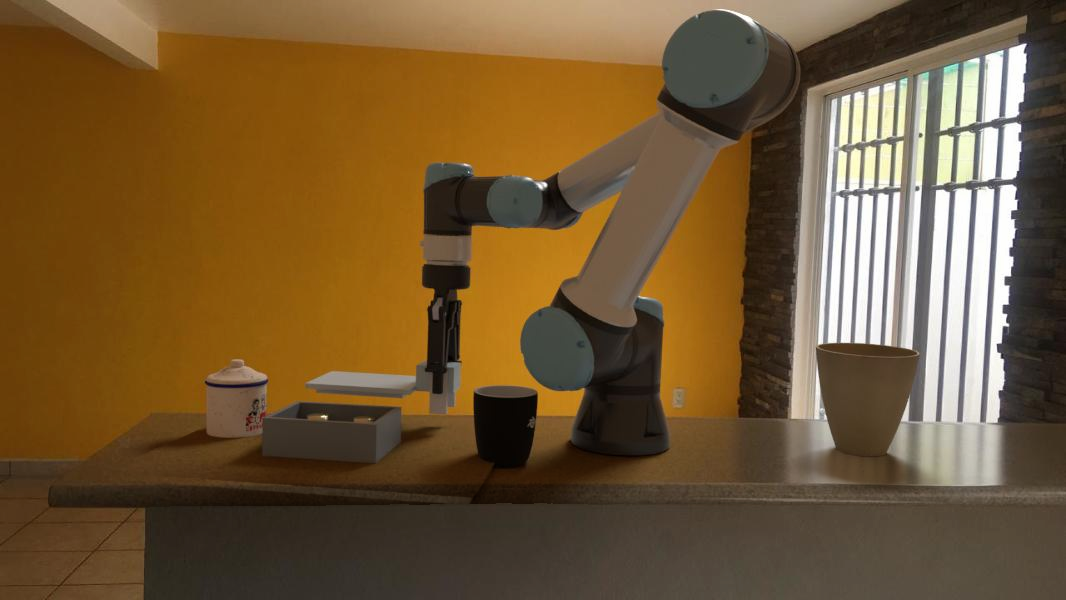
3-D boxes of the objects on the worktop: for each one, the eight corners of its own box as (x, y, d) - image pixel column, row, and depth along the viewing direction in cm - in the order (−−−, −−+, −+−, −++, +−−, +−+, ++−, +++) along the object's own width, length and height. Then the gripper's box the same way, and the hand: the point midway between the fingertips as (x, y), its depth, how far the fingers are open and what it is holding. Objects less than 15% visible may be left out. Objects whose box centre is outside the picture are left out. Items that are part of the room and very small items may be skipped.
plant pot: (795, 438, 141) (800, 341, 140) (882, 439, 142) (888, 343, 141) (835, 463, 126) (841, 355, 125) (932, 464, 127) (939, 356, 126)
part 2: (377, 443, 126) (377, 416, 126) (370, 448, 123) (371, 421, 123) (357, 442, 127) (357, 415, 126) (350, 447, 124) (350, 419, 123)
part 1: (330, 440, 127) (331, 413, 127) (323, 445, 124) (323, 418, 124) (311, 439, 127) (311, 412, 127) (303, 444, 124) (303, 417, 124)
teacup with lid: (257, 444, 127) (257, 365, 126) (195, 442, 127) (195, 363, 126) (281, 425, 139) (281, 353, 138) (224, 424, 139) (224, 352, 138)
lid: (464, 388, 142) (465, 359, 142) (448, 402, 131) (449, 371, 130) (332, 380, 145) (332, 352, 145) (305, 393, 134) (305, 362, 133)
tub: (400, 447, 128) (401, 407, 127) (375, 468, 116) (376, 424, 116) (297, 440, 130) (297, 401, 129) (262, 461, 118) (262, 417, 118)
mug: (535, 472, 117) (537, 398, 116) (468, 469, 117) (470, 395, 116) (536, 449, 129) (538, 382, 128) (476, 447, 129) (478, 380, 128)
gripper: (436, 260, 144) (433, 397, 146) (407, 264, 127) (403, 420, 129) (481, 262, 144) (476, 400, 146) (457, 266, 126) (453, 424, 128)
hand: (442, 409), depth 137 cm, fingers closed on lid, 5 cm apart
